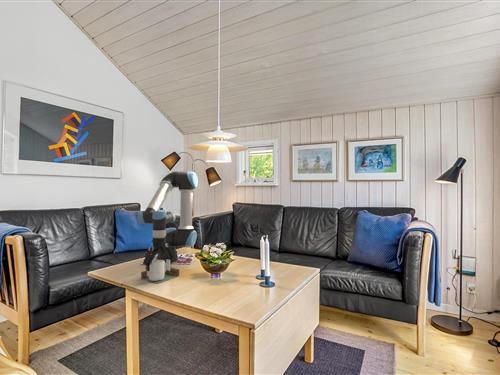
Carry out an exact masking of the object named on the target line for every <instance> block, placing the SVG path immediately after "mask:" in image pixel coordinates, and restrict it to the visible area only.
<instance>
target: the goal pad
mask: <svg viewBox="0 0 500 375" xmlns="http://www.w3.org/2000/svg"><path fill="white" fill-rule="evenodd" d="M175 278H176V276H172V275H169V274H165V273H164V279H162V280H158V281H151V280H150V279H149V278H146V279H143V281H147V282H150V283H153V284H157V285H158V284H161V283H163V282H164V283H165V282H166V281H170V280H172V279H175Z"/></svg>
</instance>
